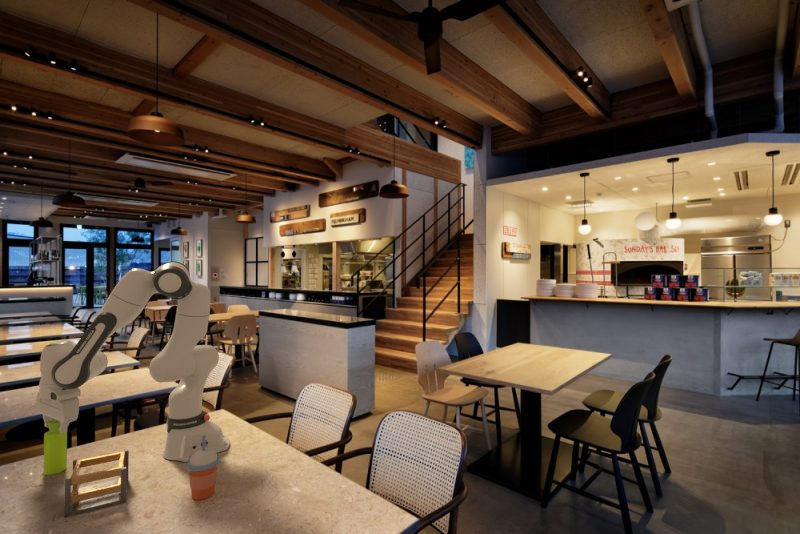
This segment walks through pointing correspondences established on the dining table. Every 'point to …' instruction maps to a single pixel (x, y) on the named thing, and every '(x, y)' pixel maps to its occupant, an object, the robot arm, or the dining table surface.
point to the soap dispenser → (55, 449)
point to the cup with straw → (203, 472)
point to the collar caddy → (96, 485)
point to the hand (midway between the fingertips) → (55, 429)
